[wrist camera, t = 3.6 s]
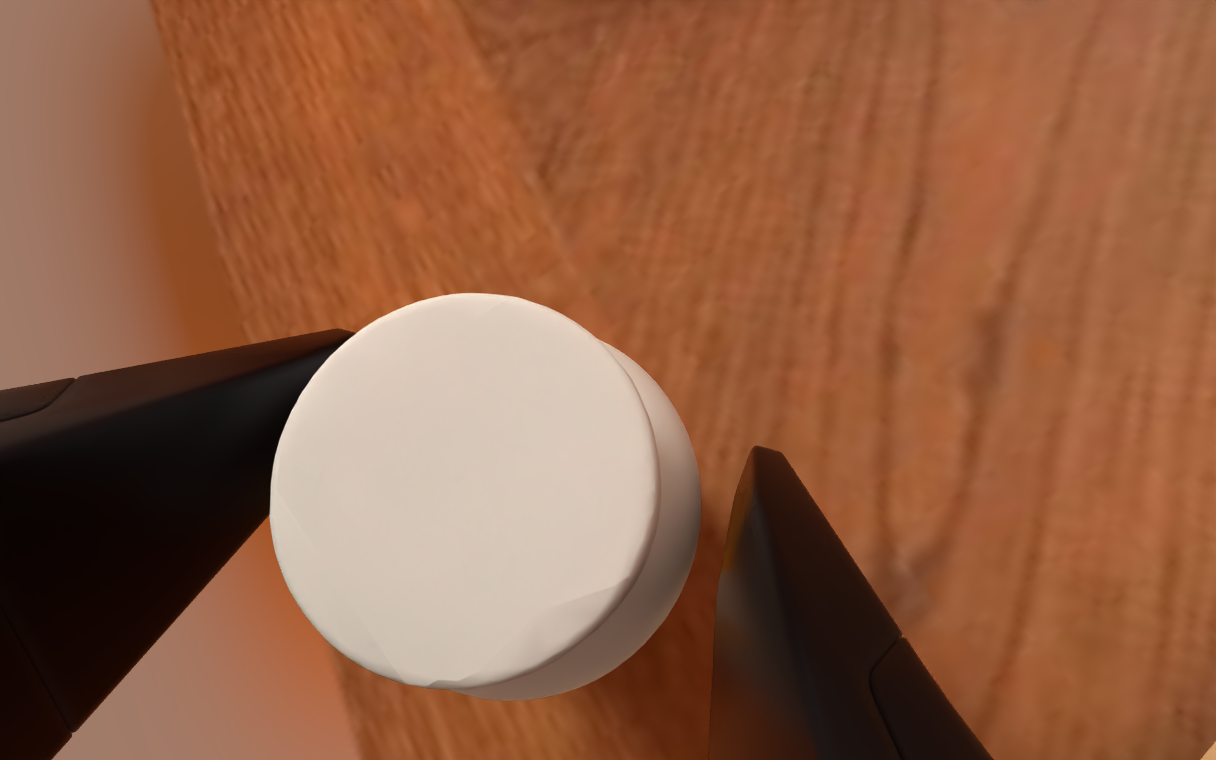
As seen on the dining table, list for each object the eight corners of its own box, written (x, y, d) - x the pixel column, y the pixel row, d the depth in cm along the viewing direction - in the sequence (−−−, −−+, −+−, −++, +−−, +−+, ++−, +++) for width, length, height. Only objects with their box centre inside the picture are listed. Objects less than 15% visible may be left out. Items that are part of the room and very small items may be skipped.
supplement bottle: (608, 677, 14) (536, 928, 5) (426, 556, 15) (85, 578, 6) (718, 478, 15) (824, 381, 6) (539, 376, 16) (396, 158, 7)
